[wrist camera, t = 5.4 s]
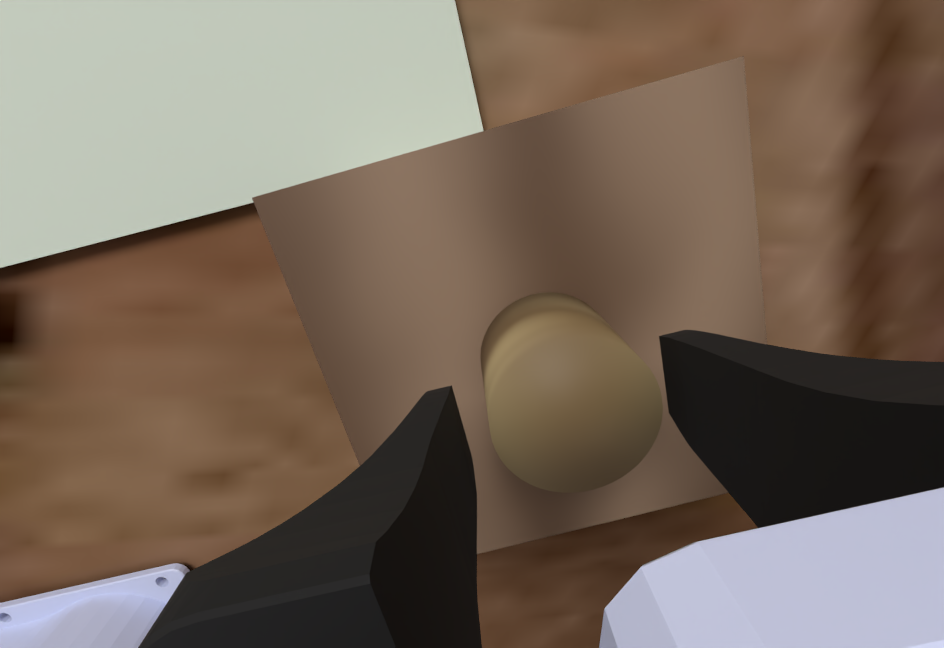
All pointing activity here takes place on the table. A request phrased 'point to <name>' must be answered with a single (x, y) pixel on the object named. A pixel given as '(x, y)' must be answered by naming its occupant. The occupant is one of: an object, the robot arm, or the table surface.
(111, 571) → the table surface
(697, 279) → the lid
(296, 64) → the mat
